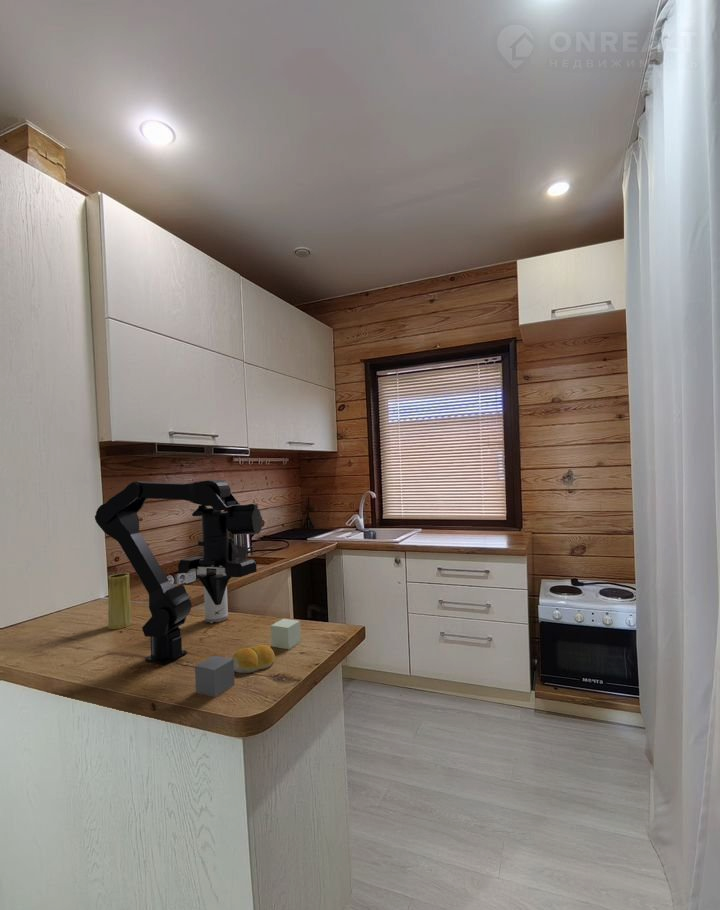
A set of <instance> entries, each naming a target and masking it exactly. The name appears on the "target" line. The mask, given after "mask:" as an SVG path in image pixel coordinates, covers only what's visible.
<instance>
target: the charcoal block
mask: <svg viewBox="0 0 720 910" xmlns="http://www.w3.org/2000/svg"><path fill="white" fill-rule="evenodd" d="M194 674H195V675H194V676H195V678H194V679H195V693H197V694H201V695H205V696H210V697H213V698H217V697H218V696H219V695H221V694H223V693H224V692H226V691H227V690H229V689H230V688H232V687H234V686H235V671H234V659H232V658H231V657H230V658H229V657H224V656H219V655H213V656H210V657H209V658H207V659H205V660H203V661H202V662H199V663H198V664H196V665H195V666H194Z"/></svg>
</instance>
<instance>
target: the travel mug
mask: <svg viewBox="0 0 720 910" xmlns="http://www.w3.org/2000/svg"><path fill="white" fill-rule="evenodd" d="M211 566H213V565H211ZM219 567H222V566H219ZM203 598H204V599H203V600H204V621H205V623H207V622H210V623H209V624H212V623H211V622H219V623H221V622H220V621H223V620H225V621H227V620H228V619H227V618H229V612H228V611H229V607H228V585H227V586H226V589H225V592H224V596H223V599H222V602H221V604H220V605H215V604H214V602H213V600H212V599H211V597H210V595H209V593H208V591H207V590H206V588H205V587H204V586H203ZM226 619H227V620H226ZM223 622H224V621H223Z"/></svg>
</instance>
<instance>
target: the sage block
mask: <svg viewBox="0 0 720 910" xmlns="http://www.w3.org/2000/svg"><path fill="white" fill-rule="evenodd" d="M301 629H302V628H301V620H297V619H290V618H282V619H280V620H278V621H276V622H275V623H273V624H271V625H270V633H271V634H270V637H271V640H270V641H271V648H279V649H285V650H290V649H292V648H293V647H295V646H296V645H298V644H299V643H301V642H302V631H301Z"/></svg>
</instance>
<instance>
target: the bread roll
mask: <svg viewBox="0 0 720 910" xmlns="http://www.w3.org/2000/svg"><path fill="white" fill-rule="evenodd" d="M275 658H276V657H275V652H274V650H273V649H272V647H270V646H269V645H267V644H260V645H254V646H251V647H244V648H239V649H237V650H236V651H235V652H234V653H233V655H232V658H231V659H234V672H236V673H238V674H251V673H254V672H257V671H260V670H265V669H268V668H270V667H271V666H272V664H273V662H274V661H275Z"/></svg>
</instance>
